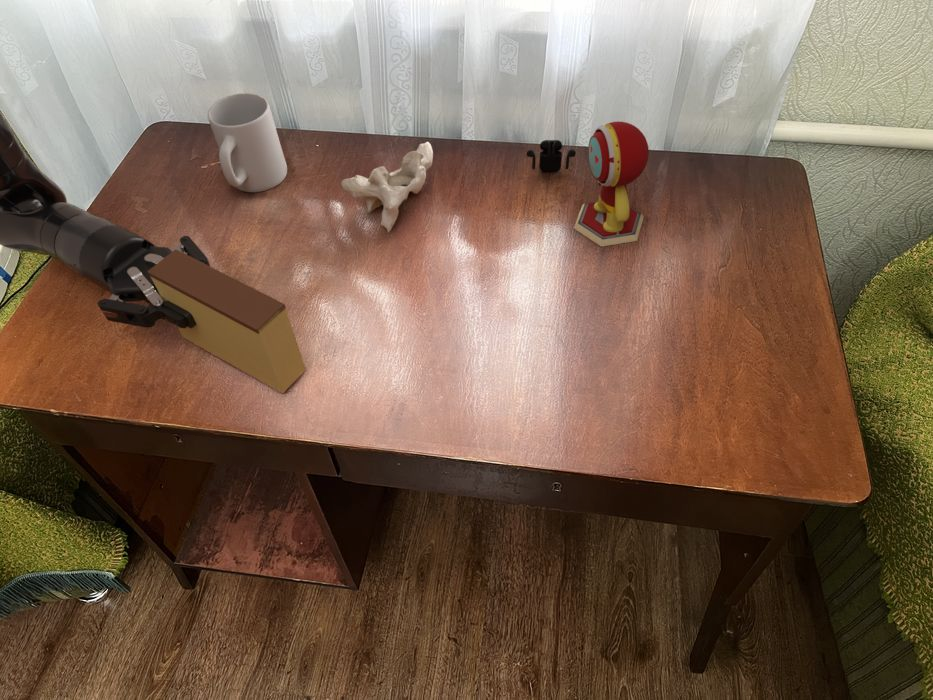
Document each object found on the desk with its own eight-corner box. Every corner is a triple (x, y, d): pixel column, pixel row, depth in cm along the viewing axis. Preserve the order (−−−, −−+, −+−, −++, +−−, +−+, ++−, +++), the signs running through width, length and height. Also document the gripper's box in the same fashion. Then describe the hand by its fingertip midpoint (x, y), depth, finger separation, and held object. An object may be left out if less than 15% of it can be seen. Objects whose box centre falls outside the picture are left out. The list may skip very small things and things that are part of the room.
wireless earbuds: (526, 173, 102) (527, 144, 98) (525, 163, 104) (527, 133, 100) (573, 173, 102) (577, 143, 98) (573, 163, 103) (576, 133, 99)
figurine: (564, 208, 97) (574, 112, 85) (632, 197, 98) (651, 101, 86) (583, 249, 92) (596, 153, 80) (654, 238, 92) (677, 141, 81)
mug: (243, 155, 107) (221, 90, 99) (295, 160, 106) (278, 94, 97) (212, 205, 100) (185, 139, 91) (267, 211, 99) (246, 145, 90)
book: (182, 337, 83) (146, 271, 75) (207, 315, 85) (175, 248, 77) (282, 394, 78) (256, 329, 69) (306, 369, 80) (284, 303, 71)
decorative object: (353, 219, 99) (334, 171, 93) (418, 166, 105) (404, 118, 99) (396, 236, 94) (378, 187, 88) (462, 180, 100) (449, 130, 94)
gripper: (40, 267, 77) (145, 327, 71) (140, 196, 85) (243, 245, 79) (72, 312, 83) (171, 371, 77) (162, 242, 91) (260, 291, 85)
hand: (207, 307), depth 78 cm, fingers closed on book, 4 cm apart
